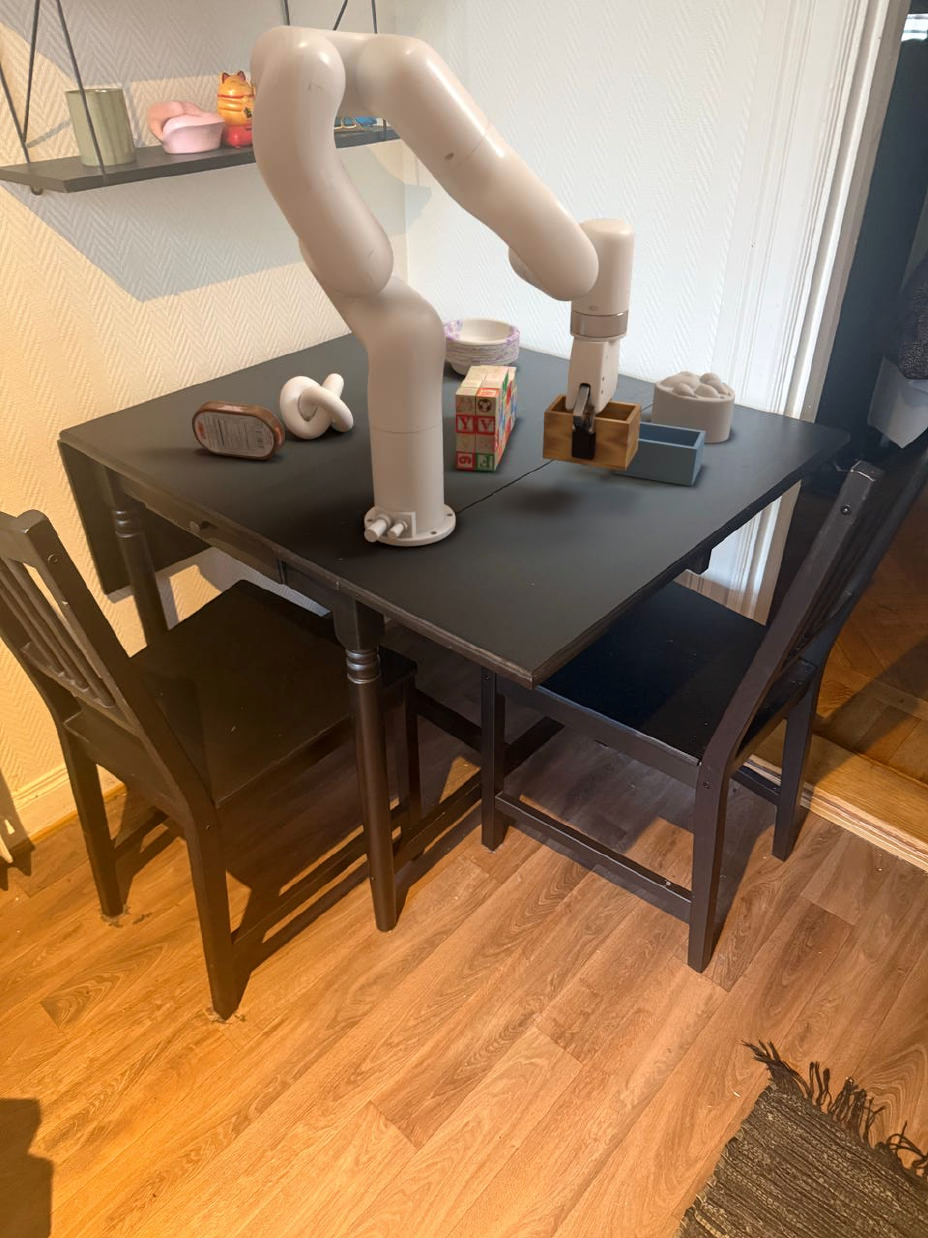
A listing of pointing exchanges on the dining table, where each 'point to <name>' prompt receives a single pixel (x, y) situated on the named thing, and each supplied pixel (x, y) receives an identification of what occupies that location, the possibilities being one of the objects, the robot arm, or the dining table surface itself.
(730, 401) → the lumpy-topped squat cylinder
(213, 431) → the tin
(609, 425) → the wooden basket
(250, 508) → the dining table surface
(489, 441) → the stack of blocks
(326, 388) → the white knot sculpture
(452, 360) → the paper bowls
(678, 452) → the blue basket
